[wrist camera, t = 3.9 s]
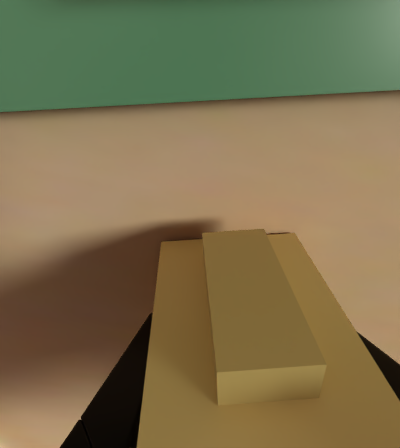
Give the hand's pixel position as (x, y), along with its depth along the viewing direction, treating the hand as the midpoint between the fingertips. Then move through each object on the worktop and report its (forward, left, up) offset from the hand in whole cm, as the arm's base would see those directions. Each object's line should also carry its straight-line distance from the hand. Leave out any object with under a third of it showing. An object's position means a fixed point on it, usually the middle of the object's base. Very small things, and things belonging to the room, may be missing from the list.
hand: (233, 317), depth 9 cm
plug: (0, 0, -1) cm, 1 cm away
